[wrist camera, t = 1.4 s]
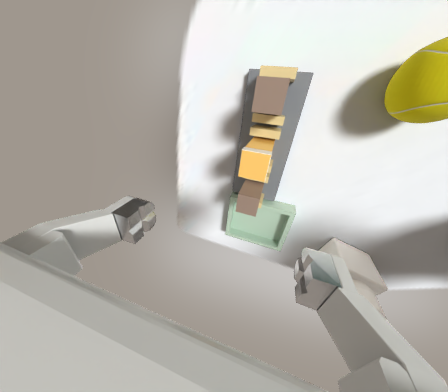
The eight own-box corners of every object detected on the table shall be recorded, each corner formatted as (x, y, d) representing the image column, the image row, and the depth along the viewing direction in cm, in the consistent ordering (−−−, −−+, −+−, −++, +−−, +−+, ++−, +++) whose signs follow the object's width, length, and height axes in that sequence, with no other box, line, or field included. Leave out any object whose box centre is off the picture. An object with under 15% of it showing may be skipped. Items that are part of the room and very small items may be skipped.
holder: (250, 70, 22) (233, 53, 15) (312, 74, 20) (328, 57, 13) (234, 188, 32) (218, 214, 25) (274, 198, 30) (270, 229, 23)
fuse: (276, 137, 24) (271, 154, 16) (271, 157, 26) (264, 182, 18) (255, 134, 25) (241, 149, 17) (252, 153, 27) (237, 176, 18)
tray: (295, 205, 30) (296, 213, 28) (280, 242, 35) (280, 251, 33) (233, 190, 32) (230, 196, 30) (228, 227, 38) (225, 234, 36)
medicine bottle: (341, 272, 34) (364, 341, 24) (309, 256, 35) (320, 317, 25) (369, 253, 30) (411, 328, 20) (333, 236, 30) (356, 300, 21)
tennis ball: (390, 49, 18) (440, 24, 12) (479, 41, 16) (592, 5, 10) (363, 119, 21) (393, 126, 15) (433, 120, 19) (497, 127, 13)
